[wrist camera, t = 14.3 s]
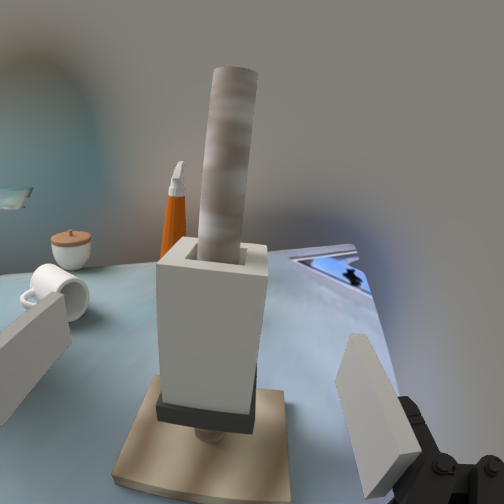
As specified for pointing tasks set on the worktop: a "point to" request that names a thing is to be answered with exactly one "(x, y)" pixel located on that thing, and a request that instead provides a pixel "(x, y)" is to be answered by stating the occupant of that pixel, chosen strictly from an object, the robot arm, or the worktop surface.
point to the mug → (58, 290)
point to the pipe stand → (267, 401)
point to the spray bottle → (175, 211)
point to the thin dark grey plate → (208, 416)
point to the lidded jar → (71, 249)
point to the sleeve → (210, 326)
